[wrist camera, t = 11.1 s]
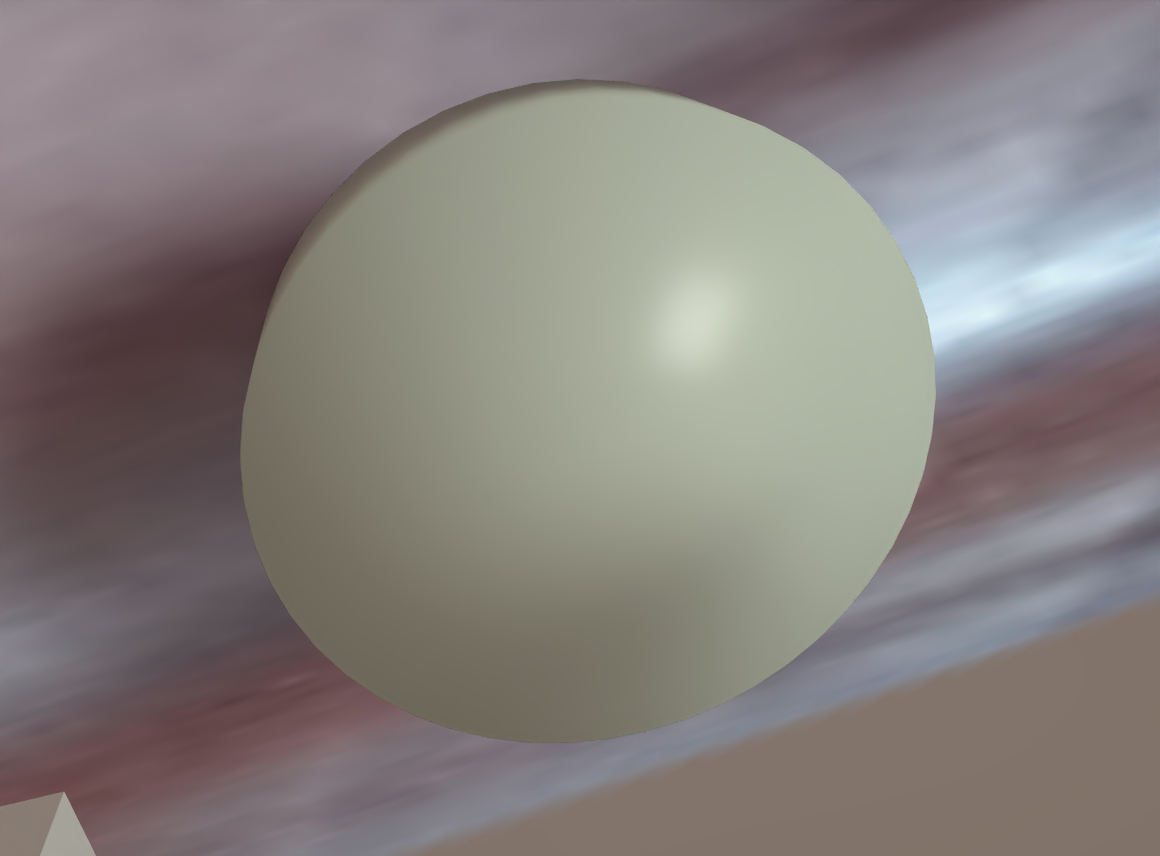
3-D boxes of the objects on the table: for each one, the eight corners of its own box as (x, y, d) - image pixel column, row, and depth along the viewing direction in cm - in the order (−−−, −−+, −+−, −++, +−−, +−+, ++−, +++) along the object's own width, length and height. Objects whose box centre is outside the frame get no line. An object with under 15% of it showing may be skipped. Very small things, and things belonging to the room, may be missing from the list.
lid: (977, 271, 18) (1064, 313, 16) (670, 719, 21) (706, 806, 19) (440, -67, 14) (455, -73, 12) (153, 545, 17) (123, 629, 15)
